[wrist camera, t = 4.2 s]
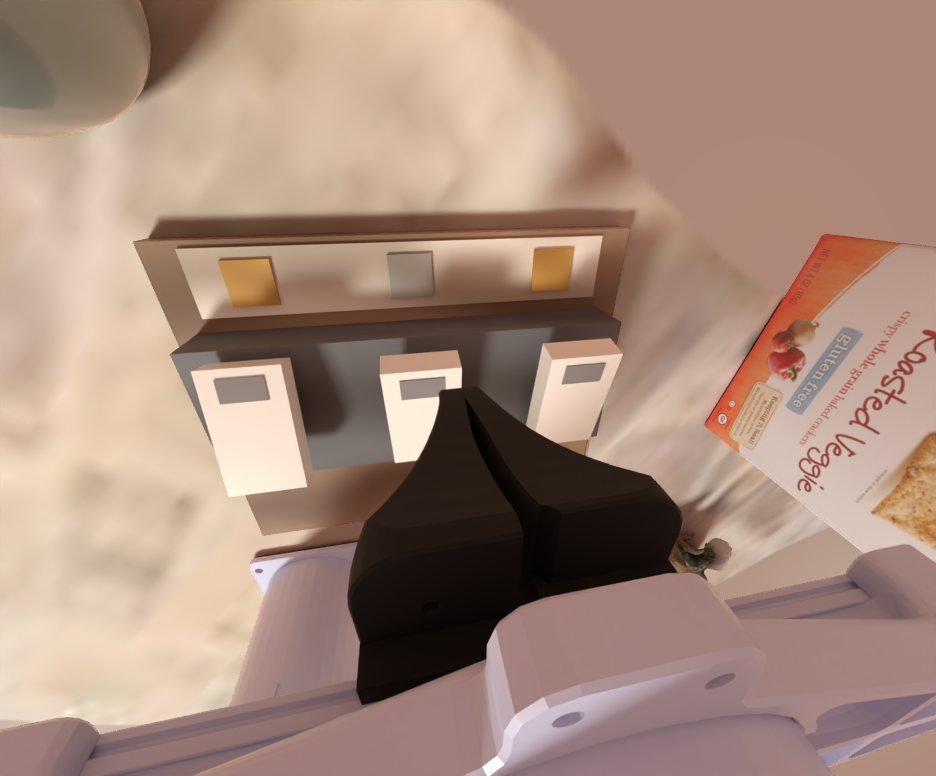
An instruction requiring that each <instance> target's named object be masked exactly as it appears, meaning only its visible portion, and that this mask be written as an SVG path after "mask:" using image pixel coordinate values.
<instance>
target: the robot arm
mask: <svg viewBox="0 0 936 776" xmlns="http://www.w3.org/2000/svg"><path fill="white" fill-rule="evenodd" d="M681 525H682V515H681V511H680V509H679V508H678V506H677V505H676V504H675V503H674V501H673V500H672V499H671V498H670V497H669V496H668V494H667V493H666V492H665V491H664V490H663V489H662V488H661V487H660V485H659V484H658V483H657V482H656V481H655V480H654V479H653V478H652V477H651V476H649V475H646V474H642V473H638V472H634V471H631V470H627V469H623V468H620V467H616V466H613V465H610V464H607V463H604V462H601V461H598V460H595V459H592V458H590V457H587V456H584V455H582V454H579V453H577V452H575V451H572V450H570V449H568V448H566V447H564V446H561V445H559V444H557V443H555V442H553V441H551V440H550V439H548V438H546V437H544V436H542V435H541V434H539V433H537V432H535V431H534V430H532V429H531V428H529V427H527V426H526V425H525V424H523V423H522V422H520V421H519V420H517V419H516V418H515V417H513V416H512V415H510V414H509V413H508V412H507V411H505V410H504V409H503V408H502V407H500V406H499V405H498V404H497V403H496V402H495V401H494V400H492V399H491V398H490V397H489V396H488V395H487V394H486V393H485V392H483V391H482V390H481V389H480V388H479V387H478V386H473V387H464V388H454V389H444V390H441V391H440V392H439V406H438V411H437V415H436V419H435V422H434V425H433V428H432V430H431V433H430V435H429V438H428V440H427V442H426V444H425V446H424V448H423V450H422V452H421V454H420V456H419V458H418V459H417V461H416V463H415V464H414V466H413V467H412V469H411V470H410V472H409V473H408V475H407V476H406V478H405V479H404V480H403V481H402V483H401V484H400V485H399V486H398V488H397V489H396V490H395V491H394V492H393V494H392V495H391V496H390V497H389V498H388V499H387V501H386V502H385V503H384V504H383V505H382V506H381V507H380V508H379V509H378V510H377V511H376V512H375V513H374V514H373V515H372V516H371V517H370V518H369V519H367V520H366V522H365V524H364V527H363V529H362V532H361V535H360V537H359V540H358V542H355V543H349V544H342V545H336V546H329V547H323V548H316V549H310V550H303V551H297V552H290V553H284V554H277V555H271V556H264V557H258V558H254V559H252V560H251V562H250V564H249V568H250V570H251V571H252V573H253V575H254V577H255V579H256V581H257V583H258V585H259V587H260V589H261V591H262V593H263V595H264V598H263V601H262V604H261V607H260V610H259V614H258V617H257V620H256V623H255V626H254V629H253V632H252V636H251V639H250V642H249V645H248V648H247V651H246V655H245V658H244V661H243V664H242V667H241V670H240V673H239V677H238V680H237V683H236V686H235V689H234V692H233V695H232V699H231V702H230V705H229V707H225V708H220V709H215V710H211V711H206V712H201V713H197V714H192V715H187V716H183V717H178V718H173V719H169V720H164V721H160V722H155V723H150V724H146V725H141V726H136V727H132V728H127V729H122V730H118V731H113V732H109V733H104V734H99V732H98V731H97V730H96V728H95V727H94V726H93V725H92V724H90V723H89V722H87V721H85V720H82V719H79V718H69V717H66V718H56V719H51V720H46V721H41V722H36V723H31V724H26V725H22V726H17V727H12V728H7V729H3V730H0V776H834V775H833V773H832V772H831V771H830V769H829V768H831V767H833V766H836V765H839V764H841V763H844V762H846V761H849V760H852V759H855V758H858V757H860V756H863V755H866V754H868V753H871V752H874V751H877V750H879V749H882V748H885V747H887V746H890V745H893V744H896V743H899V742H901V741H904V740H907V739H910V738H913V737H916V736H919V735H922V734H925V733H927V732H931V731H934V730H936V563H935V562H934V561H933V560H931V559H930V558H928V557H927V556H925V555H924V554H923V553H921V552H920V551H918V550H917V549H915V548H914V547H913V546H911V545H908V544H902V545H897V546H892V547H887V548H882V549H877V550H872V551H870V552H867V553H865V554H863V555H861V556H859V557H858V558H857V559H856V560H855V561H854V562H853V563H852V564H851V565H850V566H849V568H848V569H847V571H846V574H845V575H840V576H835V577H831V578H826V579H821V580H817V581H813V582H807V583H803V584H798V585H793V586H789V587H784V588H780V589H775V590H770V591H766V592H761V593H757V594H752V595H747V596H742V597H737V598H733V599H728V600H723V599H722V598H721V596H720V595H719V594H718V592H717V591H716V590H715V589H714V587H713V586H712V585H711V584H710V583H709V582H708V581H706V580H705V579H704V578H702V577H701V576H699V575H697V574H693V573H678V572H677V570H676V569H675V568H674V566H673V565H672V564H671V562H670V561H669V556H670V554H671V552H672V549H673V547H674V545H675V542H676V540H677V538H678V535H679V532H680V529H681Z"/></svg>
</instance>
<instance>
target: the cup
mask: <svg viewBox="0 0 936 776" xmlns="http://www.w3.org/2000/svg"><path fill="white" fill-rule="evenodd" d="M150 59H151V43H150V36H149V29H148V23H147V20H146V17H145V14H144V10H143V7H142V4H141V1H140V0H0V138H19V139H40V138H55V137H60V136H66V135H71V134H76V133H81V132H86V131H90V130H93V129H95V128H98V127H100V126H102V125H104V124H106V123H109V122H111V121H112V120H114V119H116V118H117V117H119V116H120V115H121V114H122V113H124V112H125V111H126V110H127V109H129V108H130V107H131V106H132V105H133V103H134V102H135V100H136V99H137V98H138V96H139V95H140V93H141V92H142V91H143V88H144V85H145V82H146V80H147V77H148V74H149V71H150Z"/></svg>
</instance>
